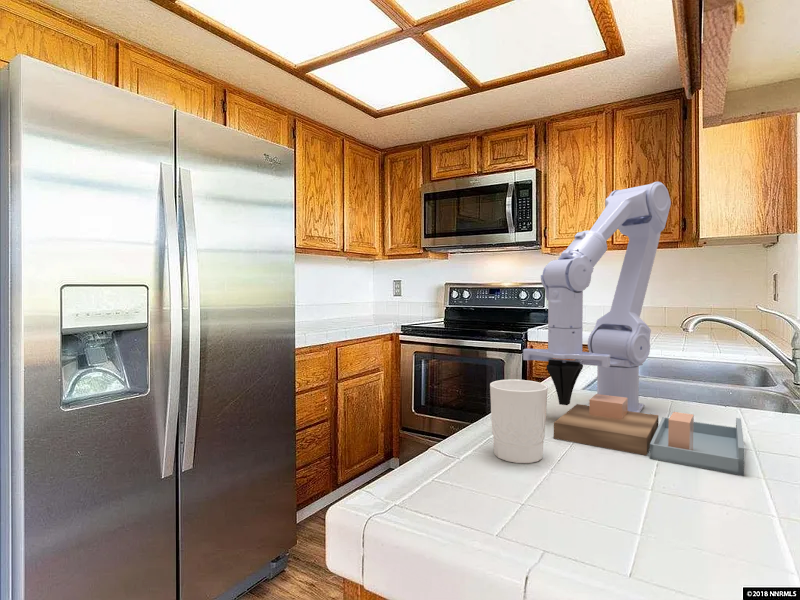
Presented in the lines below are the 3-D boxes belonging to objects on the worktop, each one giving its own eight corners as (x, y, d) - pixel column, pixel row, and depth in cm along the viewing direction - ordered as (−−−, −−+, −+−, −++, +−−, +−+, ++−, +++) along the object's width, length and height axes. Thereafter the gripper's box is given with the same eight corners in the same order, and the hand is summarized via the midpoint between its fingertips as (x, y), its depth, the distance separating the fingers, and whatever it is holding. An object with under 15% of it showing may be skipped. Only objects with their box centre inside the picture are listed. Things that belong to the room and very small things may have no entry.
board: (576, 417, 84) (577, 404, 84) (658, 430, 77) (658, 415, 77) (553, 438, 73) (553, 422, 73) (646, 455, 65) (646, 437, 65)
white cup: (482, 459, 64) (482, 387, 64) (498, 442, 71) (498, 377, 71) (541, 469, 60) (541, 393, 60) (551, 450, 67) (552, 382, 67)
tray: (662, 429, 77) (662, 408, 77) (740, 441, 71) (740, 418, 71) (649, 458, 64) (649, 433, 64) (743, 476, 58) (744, 448, 58)
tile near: (673, 411, 68) (693, 414, 66) (673, 445, 68) (693, 449, 67) (668, 419, 64) (689, 422, 62) (668, 455, 64) (689, 459, 63)
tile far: (596, 408, 81) (596, 393, 81) (627, 412, 78) (627, 397, 78) (589, 414, 77) (589, 399, 77) (622, 419, 74) (622, 403, 74)
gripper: (517, 326, 82) (516, 402, 83) (604, 331, 74) (603, 415, 74) (530, 324, 88) (530, 394, 89) (613, 327, 80) (612, 405, 80)
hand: (564, 403), depth 82 cm, fingers closed
